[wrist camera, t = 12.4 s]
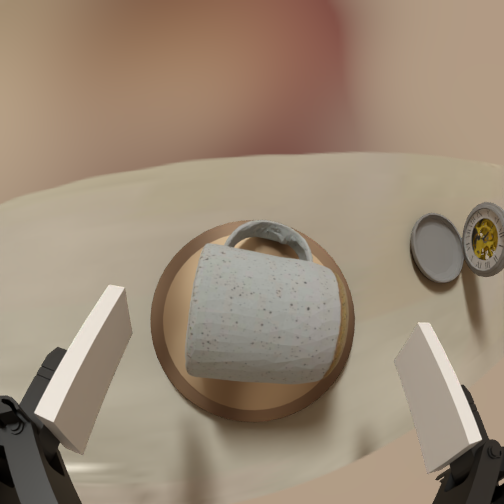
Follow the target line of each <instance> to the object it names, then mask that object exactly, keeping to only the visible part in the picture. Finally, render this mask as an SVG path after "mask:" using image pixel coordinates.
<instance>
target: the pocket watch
mask: <svg viewBox="0 0 504 504" xmlns="http://www.w3.org/2000/svg"><path fill="white" fill-rule="evenodd" d="M483 223H484V225H483ZM482 225H483V226H482ZM481 230H482V231H481ZM480 231H481V232H480ZM480 233H482V234H483V235H482V237H481V236H480ZM478 234H479V236H478ZM483 236H484V237H483ZM490 246H491V247H490ZM494 247H495V248H494ZM411 249H412V253H413V257H414V260H415V262H416V264H417V266H418V267H419V269H420V270H421V272H422V273H423V274H424V275H425V276H426V277H427V278H428V279H430V280H432V281H434V282H437V283H446V282H450V281H452V280H454V279H455V278H456V277H457V276H458V275H459V273H460V271H461V269H462V266H463V261H464V260H466V262H467V264H468V266H469V268H470V269H471V270H472V271H473V272H474V273H475V274H477V275H478V276H483V277H489V276H494V275H495V274H497V273H499V272H500V271H501V270H502V269H503V268H504V210H503V209H502V208H501V207H499V206H498V205H496V204H494V203H489V202H484V203H481V204H479V205H477V206H476V207H475V208H474V209H473V210H472V211H471V213H470V214H469V215H468V217H467V220H466V223H465V226H464V230H463V238H461V237H460V235H459V233H458V231H457V229H456V227H455V226H454V225H453V223H452V222H451V221H450V220H448V219H447V218H445V217H444V216H442V215H440V214H436V213H428V214H426V215H423V216H422V217H421V218H420V219H419V220H418V221H417V222H416V224H415V225H414V227H413V230H412V234H411ZM482 249H484V252H482ZM492 249H494V250H493V251H495V253H494V254H493V252H492V251H491V250H492ZM487 250H488V254H487V255H488V256H489V259H487V260H486V259H485V255H486V253H487ZM485 251H486V253H485ZM482 253H484V255H481V254H482ZM492 254H493V255H492Z"/></svg>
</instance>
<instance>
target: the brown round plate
mask: <svg viewBox="0 0 504 504" xmlns="http://www.w3.org/2000/svg"><path fill="white" fill-rule="evenodd" d="M250 221H254V220H249V221H238V222H232V223H227V224H224V225H221V226H217V227H215V228H213V229H210V230H208V231H206V232H204V233H202V234H201V235H199V236H197V237H196V238H194V239H193V240H191V241H190V242H189V243H188V244H186V245H185V246H184V247H183V248H182V249H181V250H180V251H179V252H178V253H177V254H176V255H175V256H174V257H173V259H172V260H171V261H170V263H169V264H168V266H167V267H166V269H165V270H164V272H163V274H162V276H161V278H160V280H159V282H158V285H157V288H156V290H155V293H154V298H153V302H152V308H151V334H152V340H153V345H154V348H155V351H156V355H157V358H158V360H159V362H160V364H161V366H162V368H163V370H164V372H165V373H166V375H167V376H168V378H169V379H170V381H171V382H172V383H173V385H174V386H175V387H176V388H177V389H178V390H179V391H180V392H181V393H182V394H183V395H184V396H185V397H186V398H187V399H189V400H190V401H191V402H193V403H194V404H196V405H197V406H199V407H200V408H202V409H204V410H206V411H208V412H210V413H212V414H214V415H217V416H220V417H223V418H226V419H231V420H236V421H244V422H261V421H270V420H274V419H279V418H283V417H286V416H288V415H291V414H294V413H296V412H298V411H300V410H302V409H303V408H305V407H307V406H309V405H310V404H311V403H313V402H314V401H316V400H317V399H318V398H319V397H320V396H321V395H323V394H324V393H325V392H326V391H327V390H328V389H329V387H330V386H331V385H332V384H333V383H334V381H335V380H336V379H337V377H338V376H339V374H340V372H341V371H342V369H343V367H344V365H345V363H346V361H347V358H348V356H349V353H350V349H351V346H352V342H353V336H354V325H355V316H354V305H353V301H352V297H351V293H350V290H349V287H348V284H347V282H346V279H345V278H344V276H343V274H342V272H341V270H340V268H339V267H338V265H337V264H336V263H335V261H334V260H333V258H332V257H331V256H330V255H329V254H328V253H327V252H326V251H325V250H324V249H323V248H322V247H321V246H320V245H319V244H318V243H316V242H315V241H314V240H312V239H311V238H309V237H308V236H306V235H305V234H303V233H301V232H299V231H297V230H295V229H293V228H292V229H293V230H295V231H296V232H298V233H299V234H300V235H301V236H302V237H303V238H304V239H305V240H306V242H307V243H308V246H309V248H310V249H311V253H312V257H313V262H314V263H316V264H319V265H322V266H324V267H327V268H329V269H331V270H333V271H335V272H336V273H337V274H338V276H339V277H340V279H341V281H342V282H343V284H344V287H345V289H346V293H347V299H348V309H349V320H348V332H347V337H346V342H345V346H344V349H343V352H342V355H341V357H340V359H339V362H338V363H337V365H336V367H335V368H334V369H333V370H332V372H331V373H330V374H329V375H328V376H327V377H325V378H324V379H322V380H319V381H316V382H310V383H302V384H277V383H260V382H241V381H231V380H221V379H213V378H202V377H194V376H191V375H189V374H188V373H187V370H186V367H185V363H186V360H185V342H186V333H187V326H188V317H189V309H190V301H191V295H192V289H193V282H194V279H195V274H196V269H197V266H198V261H199V258H200V255H201V252H202V249H203V247H204V246H205V245H206V244H207V243H209V244H218V245H224V244H225V242H226V240H227V239H228V237H229V236H230V235H231V234H232V232H233V231H234V230H235V229H237V228H238V227H239V226H241V225H242V224H244V223H247V222H250ZM234 248H239V249H244V250H249V251H254V252H259V253H264V254H269V255H273V256H278V257H284V258H292V259H299V257H298V255H297V254H296V252H295V251H294V250H293V249H292V248H291V247H290V246H289V245H287V244H281V243H280V242H277V241H273V240H269V239H265V238H261V237H249V238H245V239H244V240H241V241H240V242H238V243H237V244H236V245H235V247H234Z"/></svg>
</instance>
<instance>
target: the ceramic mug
mask: <svg viewBox="0 0 504 504" xmlns="http://www.w3.org/2000/svg"><path fill="white" fill-rule="evenodd" d="M249 237H261V238H265V239H269V240H273V241H277V242H280V243H281V244H287V245H289V246H290V247H291V248H292V249H293V250H294V251H295V252H296V254H297V255H298V257H299V259H292V258H284V257H278V256H273V255H269V254H264V253H259V252H254V251H249V250H244V249H239V248H234V247H235V245H236V244H237V243H238V242H240V241H241V240H244V239H245V238H249ZM348 320H349V309H348V299H347V293H346V289H345V287H344V284H343V282H342V281H341V279H340V277H339V276H338V274H337V273H336V272H335V271H333V270H331V269H329V268H327V267H324V266H322V265H319V264H316V263H314V262H313V257H312V253H311V249H310V248H309V246H308V243H307V242H306V240H305V239H304V238H303V237H302V236H301V235H300V234H299V233H298V232H296V231H295V230H293V229H292V228H290V227H288V226H286V225H283V224H280V223H277V222H273V221H267V220H254V221H250V222H247V223H244V224H242V225H241V226H239V227H238V228H237V229H235V230H234V231H233V232H232V234H231V235H230V236H229V237H228V239H227V240H226V242H225V244H224V245H218V244H209V243H207V244H206V245H205V246H204V247H203V249H202V252H201V255H200V258H199V261H198V266H197V269H196V274H195V279H194V282H193V289H192V295H191V301H190V309H189V317H188V326H187V333H186V342H185V360H186V363H185V367H186V370H187V373H188V374H189V375H191V376H194V377H202V378H213V379H221V380H231V381H241V382H260V383H277V384H302V383H310V382H316V381H319V380H322V379H324V378H325V377H327V376H328V375H329V374H330V373H331V372H332V370H333V369H334V368H335V367H336V365H337V363H338V362H339V359H340V357H341V355H342V352H343V349H344V346H345V342H346V337H347V332H348Z"/></svg>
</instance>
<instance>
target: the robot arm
mask: <svg viewBox="0 0 504 504" xmlns="http://www.w3.org/2000/svg"><path fill="white" fill-rule="evenodd" d="M131 335H132V328H131V322H130V317H129V311H128V305H127V298H126V292H125V288H124V287H119V286H114V285H109V286H108V287H107V288H106V290H105V291H104V293H103V294H102V296H101V297H100V299H99V300H98V302H97V303H96V305H95V307H94V308H93V310H92V311H91V313H90V314H89V316H88V317H87V319H86V321H85V322H84V324H83V325H82V327H81V329H80V330H79V332H78V334H77V335H76V337H75V338H74V340H73V342H72V343H71V345H70V347H69V349H68V350H65V349H62V348H59V347H57V348H56V349H54V350H53V351H52V352H51V353H49V354H48V355H47V357H46V358H45V360H44V362H43V364H42V365H41V366H42V367H40V369H39V370H38V372H37V375H36V376H35V377H34V379H33V381H32V383H31V384H30V386H29V388H28V390H27V392H26V394H25V395H24V397H23V399H22V401H21V403H20V405H18V403H17V402H16V401H15V400H14V399H13V398H12V397H9V396H0V504H82V503H81V501H80V499H79V497H78V495H77V493H76V490H75V488H74V486H73V484H72V482H71V479H70V477H69V475H68V472H67V470H66V467H65V465H64V462H63V459H62V457H61V454H60V451H59V450H58V446H59V443H61V444H62V445H63V446H64V447H65V448H67V449H69V450H72V451H74V452H77V453H79V454H81V455H83V454H84V451H85V448H86V445H87V443H88V440H89V437H90V434H91V432H92V429H93V426H94V424H95V421H96V418H97V416H98V413H99V411H100V408H101V405H102V403H103V400H104V398H105V395H106V393H107V391H108V388H109V386H110V383H111V381H112V379H113V376H114V374H115V371H116V369H117V367H118V365H119V362H120V360H121V358H122V355H123V353H124V351H125V349H126V346H127V344H128V342H129V340H130V338H131ZM394 363H395V366H396V369H397V372H398V374H399V377H400V380H401V383H402V386H403V389H404V392H405V395H406V398H407V402H408V405H409V408H410V411H411V415H412V418H413V421H414V425H415V428H416V432H417V435H418V438H419V443H420V446H421V450H422V454H423V458H424V462H425V466H426V470H427V474H428V473H432V472H435V471H439V470H441V469H443V468H444V467H446V466H447V465H450V468H449V469H448V470H446V471H445V472H443V473H442V474H440V475H439V476H438V477H437V478H436V480H439V479H440V478H442V477H444V478H443V479H442V480H440V482H441V483H442V484H441V486H440V488H439V490H438V493H437V495H436V497H435V499H434V501H433V503H432V504H504V484H502V485H500V486H499V484H498V482H499V481H500V480H502V479H503V478H504V447H501V446H500V444H499V443H498V442H497V441H496V440H489V438H488V436H487V433H486V430H485V428H484V425H483V423H482V420H481V418H480V415H479V413H478V411H477V408H476V405H475V404H474V401H473V398H472V396H471V394H470V392H469V391H468V390H467V388H466V387H465V386H464V385H460V383H459V381H458V379H457V376H456V374H455V372H454V370H453V368H452V366H451V364H450V362H449V359H448V357H447V355H446V353H445V351H444V349H443V347H442V345H441V344H440V342H439V340H438V338H437V336H436V334H435V332H434V330H433V328H432V326H431V325H430V323H419V322H418V323H417V325H416V326H415V328H414V330H413V331H412V333H411V335H410V336H409V338H408V340H407V341H406V343H405V344H404V346H403V348H402V349H401V351H400V352H399V354H398V355H397V357H396V358H395V360H394Z"/></svg>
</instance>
